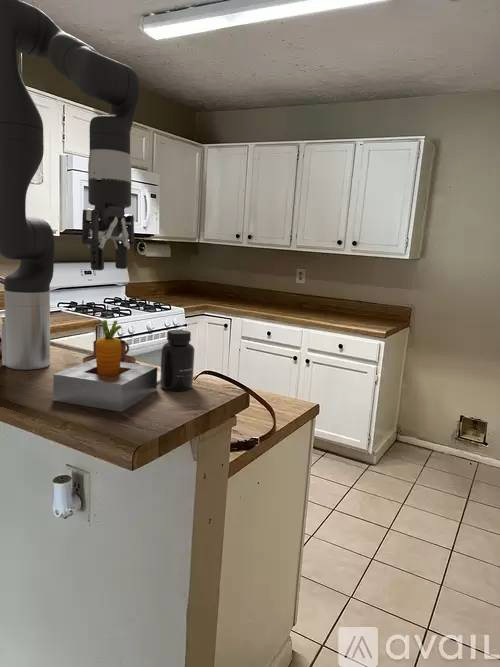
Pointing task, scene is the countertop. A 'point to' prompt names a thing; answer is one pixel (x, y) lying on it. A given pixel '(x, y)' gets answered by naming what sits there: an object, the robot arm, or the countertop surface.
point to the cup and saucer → (123, 354)
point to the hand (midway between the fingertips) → (109, 269)
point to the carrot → (108, 351)
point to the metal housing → (105, 385)
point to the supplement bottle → (177, 361)
